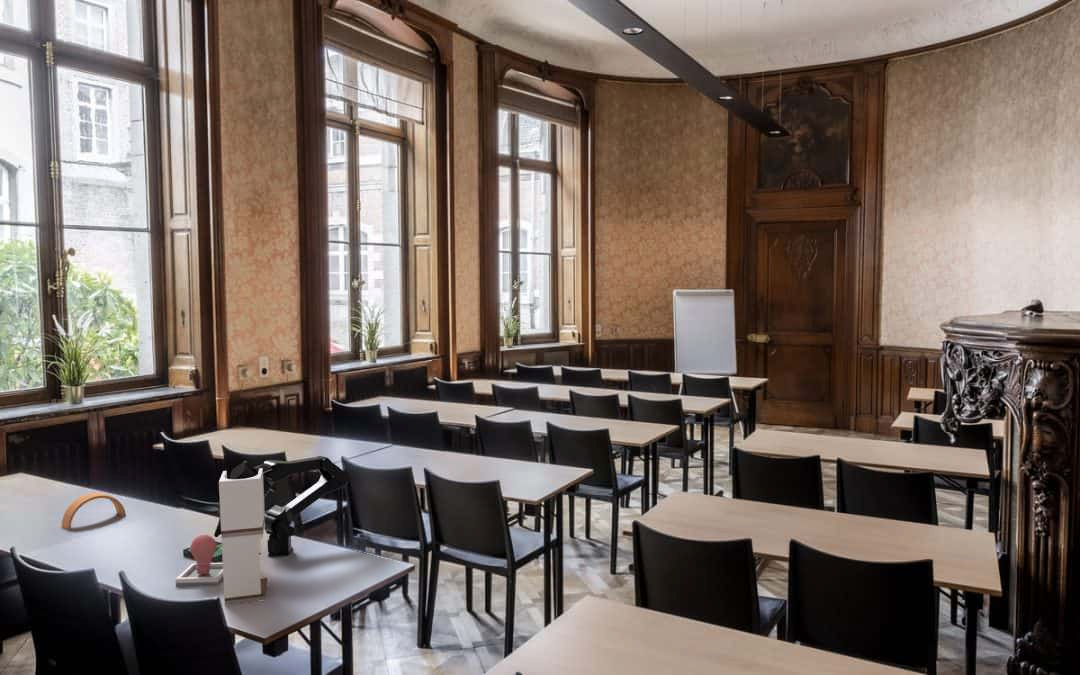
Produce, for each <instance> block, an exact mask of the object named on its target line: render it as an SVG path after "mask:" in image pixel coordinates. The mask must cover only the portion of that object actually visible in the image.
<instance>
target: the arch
mask: <svg viewBox="0 0 1080 675" xmlns="http://www.w3.org/2000/svg"><path fill="white" fill-rule="evenodd" d="M97 499H106V500H109V501H110V502H111V503H112V504H113V505H114V508H115V511H116V514H117V515H119V516H121V517H124V516H126V515H127V514H126V509H125V507H124V505H123V504H122V503H121V501H119V500H118V499H117V498H115V497H113V496H111V495H108V494H106V493H100V492H92V493H88V494H84V495H82V496H80V497H78V498H77V499H76V500H74V501H73V502H71V503H70V504H69V506H68V507H67V509H65V511H64V514H63V517H62V521H61V528H64V529H66V530H67V531H69V530H72V522H73V519H74V516H75V514H76V513H77V512H78V511H79V509H80V508H81V507H83V506H84V505H85V504H87V503H89V502H90V501H93V500H97Z"/></svg>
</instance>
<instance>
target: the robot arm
mask: <svg viewBox="0 0 1080 675" xmlns="http://www.w3.org/2000/svg"><path fill="white" fill-rule="evenodd" d="M259 468H263V488H264V498H266V496H267V494H268V493H269V492H270V491H271V492H275V493H276V492H277V491H278V490H277V487H276V486H277V485H276V482H279V481H281V480H284V479H286V478H288V477H289V476H291V475H293V474H300V473H305V472H312V471H316V470H318V471H319V473H320V478H319V480H318V481H317V482H316V483H315V484H313V485H312V486H311V487H309V488H307V489H306V490H305V491H303V492H302V493H301V494H300V495H298V496H297V497H296V498H294V499H293V500H291V501H290V502H288V503H287V504H286V505H283V506H279V505H278V504H275V505H274V506H272V507H271V508H270V509H269V510H266V511H265V529H264V532H265V533H266V534H268V539H267V543H266V544H267V553H268V554H267V557H287V556H289V555H290V554H291V553H292V552H293V550H294V547H293V546H292V536H294V534H295V528H294V527H293V526H292V525H291V524H292V522H293V520H294V518H295V517H297V516H298V515H299V514H300V513H302V512H303V511H305V510H306V509H307V508H309V507H310V506H312V504H314V503H315V502H317V501H318V500H319V499H320V498H322V497H324V496H325V495H326V494H328V493H330V492H334V491H337V490H339V489H342V488H343V487H345V486H346V485H347V484H348V483H349V473H348V472H347V471H346V470H344V469H341V468H340V466H338V465H336V464H335V463H334V462H332V461H331V459H329V457H326V456H322V455H317V456H315V457H314V456H313V457H306V458H302V459H295V460H288V461H285V460H272V459H269V460H265V461H264V462H263V463H262V464H260V465H258V466H255V467H254V466H252V465H251V463H250V462H248V461H246V460H244V461H242V463H239V464H238V465H236V466H235V467H234V468H232V469H231V472H230V474H229V479H246V478H251V477H254V476H256V475H258V472H259ZM267 479H268V480H267ZM269 480H271V481H272V482H270V481H269ZM273 481H275V482H273ZM216 510H217V513H218V518H219V519H218V523H217V525H216V528H215V531H214V533H213V536H214V537H215V538H218V537H219V536H221V516H220V504H219V505H218V506H217V507H216Z"/></svg>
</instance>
